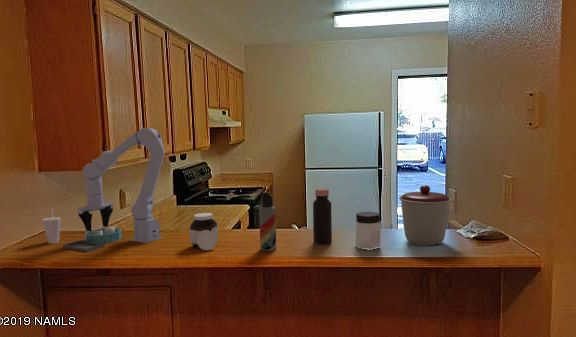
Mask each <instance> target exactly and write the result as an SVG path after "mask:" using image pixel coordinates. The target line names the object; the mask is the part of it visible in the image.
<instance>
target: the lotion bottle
mask: <svg viewBox="0 0 576 337" xmlns="http://www.w3.org/2000/svg"><path fill="white" fill-rule="evenodd" d="M273 203H274V202H273V193H269V194H261V206H260V207H259V210H258V213H259V214H258V215H259V243H260V244H259V246H260V251H261V250H262V252H265V251H270V252H273V251H274V250H275V251H276V250H277V221H276V220H277V218H276V216H277V215H276V212H277V211H276V207H275V206H274V204H273Z"/></svg>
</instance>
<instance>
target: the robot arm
mask: <svg viewBox="0 0 576 337" xmlns="http://www.w3.org/2000/svg"><path fill="white" fill-rule="evenodd" d="M138 145H142V146H144V147H145V148H146V149H147V151H148V152H149V154H150V156H149V159H148V160H149V161H148V162H147V167H146V169H145V174H144V178H143V181H142V183H141V184H142V185H141V188H140V191H139V195H137V197H136V201H135V203H134V204H133V205H132V206H131V210H130V211H131V214H132V216H133V232H134V238H131V239H129V241H130V242H137V243H143V244H144V243H145V244H149V243H150V242H154V241H157V240H161V239H162V237H161V230H160V229H161V227H160V222H159V220H158V219H156V218H154V214H153V213H152V212H153V211H154V198H155V197H154V194H155V192H156V191H155V190H156V186H157V183H158V179H159V176H160V172H161V168H162V165H163V161H164V159H165V154H166V150H165V147H164V143H163V140H162V135H161V134H160V132H159V131H158V130H157V129H156V128H153V127H149V128H148V127H142V128H140V129H139V130H138V131H136V132H134V133H133V134H131V135H130V136H129V137H127V138H126V139H125V140H124V141H123V142H121V143H120V144H118V146H116V147H115V148H114V149H113V150H105V151H102V152H101V155H99V156H98V157H97V158H94V159H92V160H91V163H87V164H85V165H84V166H83V168H82V175H83V177H85V190H86V204H87V205H86V206H85V205H84V206H82V207H78V208H77V209H76V210H77V215H78V217H79V218H80V220H81V221H82V223H83V225H84V228H85V231H86V232H88V231H91V230H92V217H93V213H90V212H94V211H95V212H96V211H98V210H99V212H100V217H101V222H102V223H101V224H102V227H103V228H106V227H109V222H110V217H111V215H112V213H113V211H114V208H113V207H114V205H113V204H114V203H113V202H111V201H110V202H109V201H108V202H107V201H106V202H104V193H103V192H104V190H103V180H102V176H103V174H104V173H105V172H106V171H108V170H109V169H110V168H112V167H113V166H114V165H116V164H117V163H118V162H119V157H120V156H122V155H124V153H127V152H128V151H130V149H131V148H133V147H134V146H138Z"/></svg>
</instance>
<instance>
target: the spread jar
mask: <svg viewBox="0 0 576 337" xmlns="http://www.w3.org/2000/svg"><path fill="white" fill-rule="evenodd" d="M213 215H214V214H213V213H211V212H200V213H195V214H193V220H192V222H191V223H190V226H189V241H190V244H191V245H192V246H194V247H195V248H197V247H200V248H199V249H201V250H203V251H211V250H212V249H214V248H215V247H216V245H217V242H218V239H219V226H218V223H217V222H216V220H215V219H214V216H213Z"/></svg>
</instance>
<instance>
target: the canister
mask: <svg viewBox="0 0 576 337" xmlns="http://www.w3.org/2000/svg"><path fill="white" fill-rule="evenodd" d="M398 199H399V200H400V204H401V215H402V223H403V229H404V235H405V239H406V240H407V241H408V242H409V243H410V242H411V244H412V243H414V244H413V245H416V244H419V245H418V246H422V245H434V244H438V245H440V244H439V243H441V242H442V243H443V242H444V240H445V237H446V232H447V226H448V217H449V211H450V210H449V209H450V203H451V202H452V198H451V197H449V196H448V195H447V194H445V193H441V192H437V191H436V192H435V191H431V186H430V185H427V184H426V185H425V184H424V185H421V186H420V187H419V191H412V192H411V191H410V192H406V193H403V194H402V195H400V196H399V197H398ZM442 243H441V244H442ZM434 246H435V245H434Z"/></svg>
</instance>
